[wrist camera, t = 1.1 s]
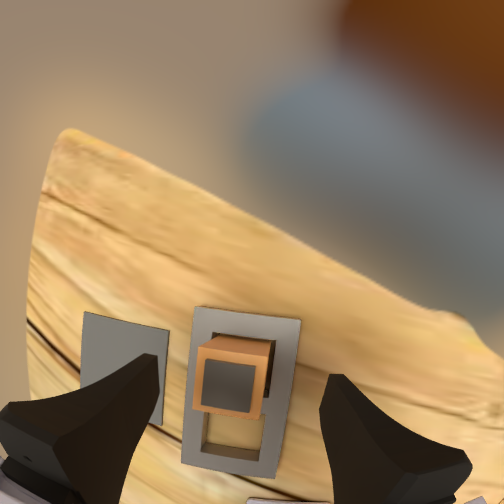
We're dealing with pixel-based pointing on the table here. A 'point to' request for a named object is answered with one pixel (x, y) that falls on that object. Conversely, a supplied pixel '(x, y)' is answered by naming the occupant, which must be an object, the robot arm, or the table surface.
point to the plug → (231, 376)
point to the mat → (120, 351)
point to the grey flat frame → (273, 400)
